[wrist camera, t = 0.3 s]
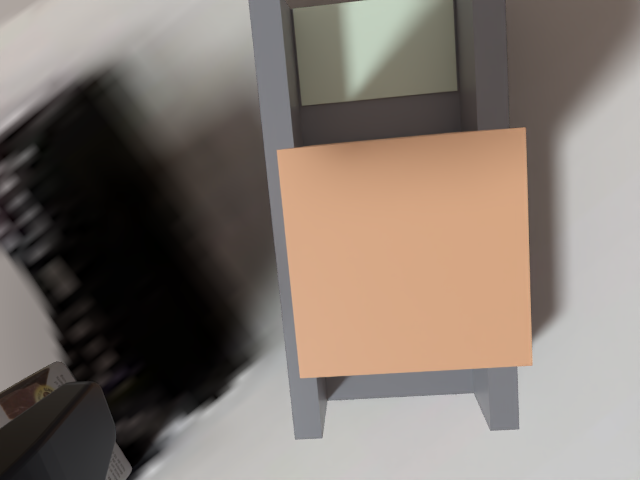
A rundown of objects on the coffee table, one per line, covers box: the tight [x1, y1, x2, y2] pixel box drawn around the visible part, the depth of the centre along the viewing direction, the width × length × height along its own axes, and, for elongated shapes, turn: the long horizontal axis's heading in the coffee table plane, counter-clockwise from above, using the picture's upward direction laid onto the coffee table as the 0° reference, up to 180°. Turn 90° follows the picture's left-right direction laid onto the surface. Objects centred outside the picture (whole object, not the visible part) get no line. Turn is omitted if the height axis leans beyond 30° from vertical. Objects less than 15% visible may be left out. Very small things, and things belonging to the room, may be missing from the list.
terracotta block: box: [277, 127, 532, 378], centre depth 17 cm, size 5×5×10 cm
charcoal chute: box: [249, 0, 519, 439], centre depth 21 cm, size 16×8×4 cm, turn 5°
